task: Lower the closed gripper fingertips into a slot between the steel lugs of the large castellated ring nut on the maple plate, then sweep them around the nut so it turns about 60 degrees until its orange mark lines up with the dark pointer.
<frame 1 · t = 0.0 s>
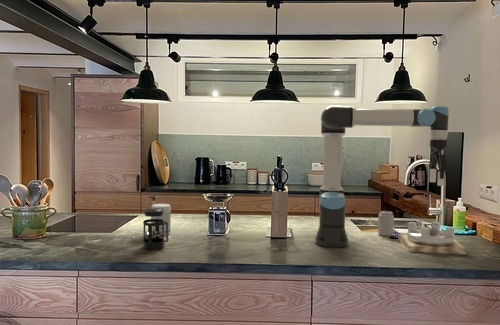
hand: (436, 183, 205), 28 cm above the worktop, tool pointing down, fingers open, 13 cm apart
supplement tub: (160, 234, 215), on the worktop
ring nut: (430, 232, 198), point 6 cm above the worktop, hinge at 0.0°
base plate: (429, 246, 198), on the worktop
can: (385, 235, 218), on the worktop
french press: (154, 248, 190), on the worktop
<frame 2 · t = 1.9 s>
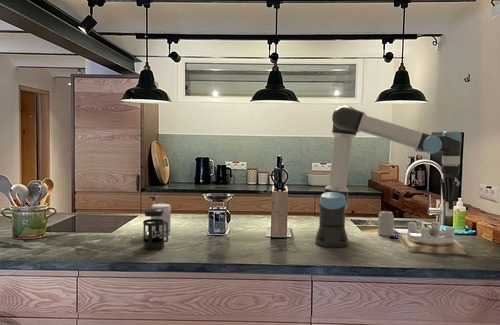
hand: (448, 215, 198), 14 cm above the worktop, tool pointing down, fingers closed
nothing on the worktop moved.
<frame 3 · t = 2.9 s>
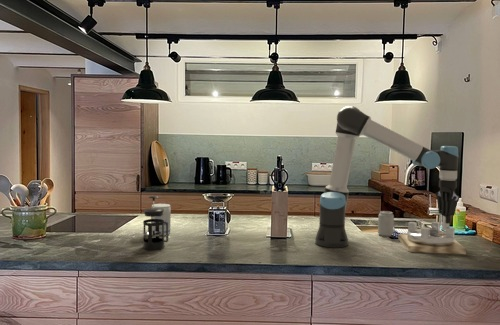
hand: (445, 229, 200), 7 cm above the worktop, tool pointing down, fingers closed
nothing on the worktop moved.
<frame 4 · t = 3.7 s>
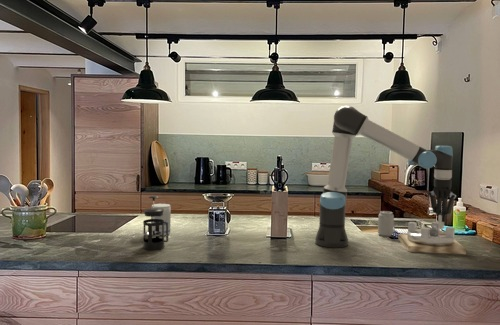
hand: (440, 228, 202), 7 cm above the worktop, tool pointing down, fingers closed
ring nut: (430, 232, 198), point 6 cm above the worktop, hinge at 0.1°, touching gripper
everything else where it was.
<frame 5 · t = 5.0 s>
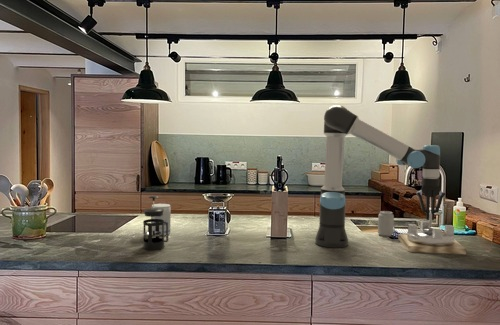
hand: (429, 226, 205), 7 cm above the worktop, tool pointing down, fingers closed
ring nut: (430, 232, 198), point 6 cm above the worktop, hinge at 34.0°, touching gripper
everything else where it was.
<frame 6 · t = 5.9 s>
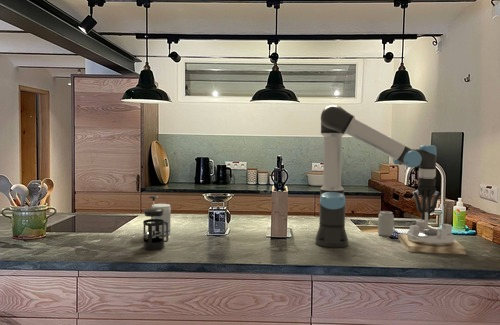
hand: (425, 226, 206), 7 cm above the worktop, tool pointing down, fingers closed
ring nut: (430, 232, 198), point 6 cm above the worktop, hinge at 49.9°, touching gripper
everything else where it was.
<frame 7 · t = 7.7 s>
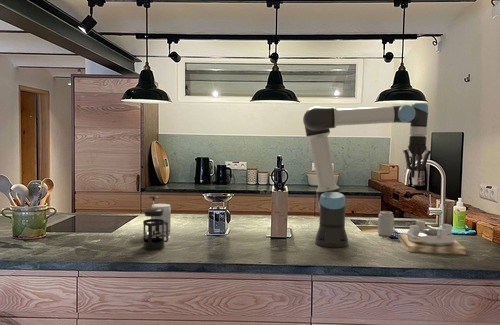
hand: (414, 184, 208), 27 cm above the worktop, tool pointing down, fingers closed
ring nut: (430, 232, 198), point 6 cm above the worktop, hinge at 49.9°
everything else where it was.
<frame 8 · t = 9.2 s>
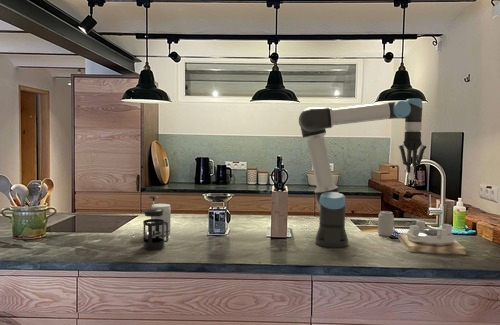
hand: (410, 179, 209), 29 cm above the worktop, tool pointing down, fingers closed
nothing on the worktop moved.
at the end: ring nut at +50° (first picture: +0°); can moved 0.2 cm from its start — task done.
